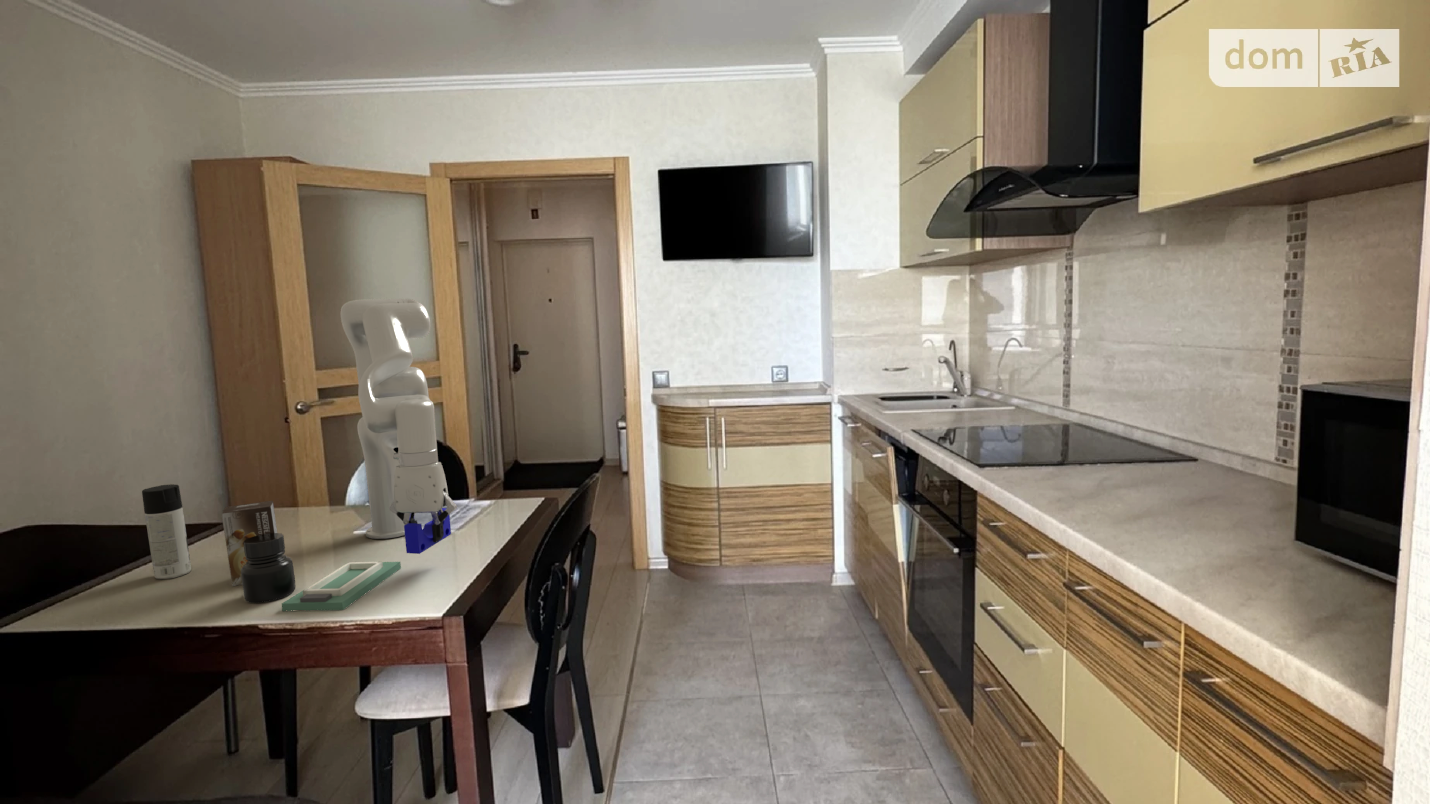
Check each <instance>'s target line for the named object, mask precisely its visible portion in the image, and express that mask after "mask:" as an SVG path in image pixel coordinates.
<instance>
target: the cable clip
mask: <svg viewBox="0 0 1430 804" xmlns="http://www.w3.org/2000/svg"><path fill="white" fill-rule="evenodd" d="M446 509H447V507H442V510H443V511H445V510H446ZM450 516H451V515H450V514H449V515H448V516H447V517H446V518H445V520H444V521H443V530H444V536H443V538H442V539H441V540H440V541H438V542H437V543H434V542H433V534H432V525H433V524H434V521H433V518H432V519H431V520H430V521H428V522H426V523H425V524H424V525H422V523H418V524H415V523H408V524H406V525H404V531H405V535H404V539H405V540H404V541H405V549H406V552H405V553H406V554H415V555H417V554H418V555H421V554H422V553H423V552H425V551H427V550H428V549H429V548H432V547H433V546H434V545H436V544H439V542H441V541H442V540H444V539H446V538H447V537H448V536H450V535H451V534H452V531H451V530H452V529H451V519H450Z"/></svg>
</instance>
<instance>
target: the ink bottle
mask: <svg viewBox="0 0 1430 804" xmlns="http://www.w3.org/2000/svg"><path fill="white" fill-rule="evenodd" d="M243 544H244V552H245V556H246V560H248V561H247V562H246V564H245V565H244V566H243V567H242V569H241V577H242V584H241V585H242V590H243V591H242V593H243V598H244V600H245V602H247V603H250V604H253V603H254V604H259V603H260V604H261V603H266V602H267V603H268V602H272V601H277V600H280V599H281V600H282V599H283V598H285V597H289V595H291V594H292V593H294V592H295V590H296V577H295V576H296V575H295V570H294V563H293V559H292V558H291V557H290V556H288V555H286V554H285V552H286V544H285V537H284V534H283V533H282V532H277V533H269V534H262V535H257V536H254V537H250V538H248V539H246V540H244V542H243Z"/></svg>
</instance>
